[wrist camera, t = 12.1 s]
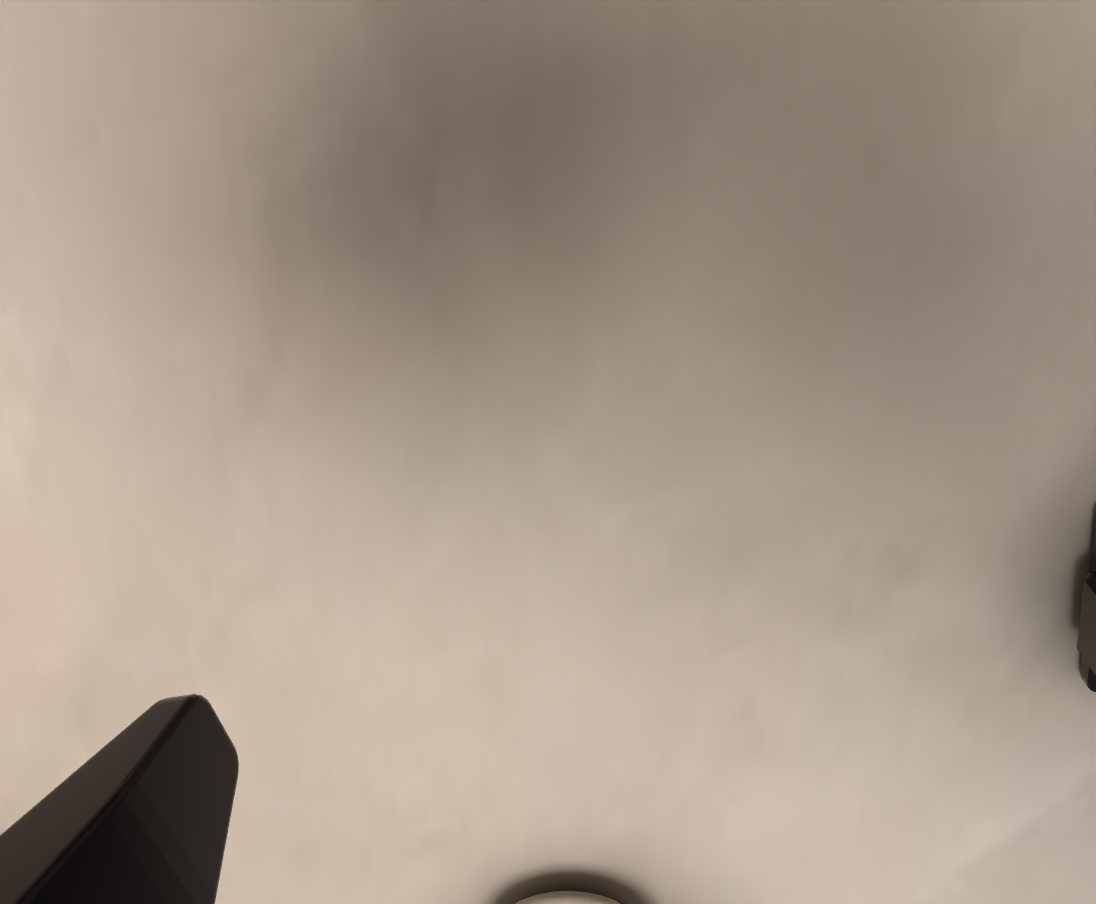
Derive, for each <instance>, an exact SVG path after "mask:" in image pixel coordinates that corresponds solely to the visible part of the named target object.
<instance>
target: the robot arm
mask: <svg viewBox="0 0 1096 904" xmlns="http://www.w3.org/2000/svg"><path fill="white" fill-rule="evenodd" d="M1077 649H1078V651H1079V652H1080V654H1081V655H1082V658H1081V669H1080V674H1081V678H1082V679H1083V680H1084V682H1085V683H1086V685H1087V686H1088V688H1089V689H1090V690H1091V691H1094V692H1096V516H1095V527H1094V537H1093V547H1092V557H1091V567H1090V573H1088V575H1087V576H1086V578H1085V580H1084V581H1083V589H1082V599H1081V610H1080V620H1079V631H1078V642H1077ZM238 765H239V763H238V756H237V753H236V749H235V747H234V745H233V743H232V741H231V740H230V738H229V736H228V734H227V733H226V731H225V729H224V727H223V726H222V724H221V722H220V720H219V718H218V717H217V715H216V713H215V711H214V710H213V708H212V706H211V704H210V703H209V701H208V700H207V699H206V698H204V697H203V696H201V695H196V694H191V695H185V696H178V697H171V698H166V699H163V700H160V701H158V702H157V703H155V704H154V705H153V706H151V707H150V708H149V709H148V710H147V711H146V712H144V713H143V714H142V715H141V716H140V717H139V718H137V719H136V720H135V721H134V722H133V723H132V724H130V725H129V726H128V727H127V728H126V729H125V730H123V731H122V732H121V733H120V734H119V735H117V736H116V737H115V738H114V739H113V740H112V741H110V742H109V743H108V744H107V745H106V746H105V747H103V748H102V749H101V750H100V751H99V752H98V753H96V754H95V755H94V756H93V757H92V758H90V759H89V760H88V761H87V762H86V763H85V764H83V765H82V766H81V767H80V768H79V769H78V770H76V771H75V772H74V773H73V774H72V775H71V776H69V777H68V778H67V779H66V780H65V781H64V782H62V783H61V784H60V785H59V786H58V787H56V788H55V789H54V790H53V791H52V792H51V793H49V794H48V795H47V796H46V797H45V798H44V799H42V800H41V801H40V802H39V803H38V804H37V805H35V806H34V807H33V808H32V809H31V810H30V811H28V812H27V813H26V814H25V815H24V816H22V817H21V818H20V819H19V820H18V821H17V822H15V823H14V824H13V825H12V826H11V827H10V828H8V829H7V830H6V831H5V832H4V833H3V834H1V835H0V904H215V899H216V893H217V888H218V882H219V877H220V871H221V866H222V860H223V855H224V849H225V844H226V838H227V833H228V827H229V822H230V817H231V811H232V806H233V800H234V795H235V789H236V784H237V778H238Z"/></svg>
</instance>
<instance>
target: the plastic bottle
mask: <svg viewBox="0 0 1096 904" xmlns="http://www.w3.org/2000/svg"><path fill="white" fill-rule="evenodd" d="M515 904H621V903H619V902H617V901H615V900H613V899H610V898H607V897H604V896H601V895H598V894H593V893H587V892H578V891H555V892H548V893H542V894H538V895H534V896H531V897H528V898H525V899H523V900H521V901H519V902H517V903H515Z"/></svg>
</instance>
